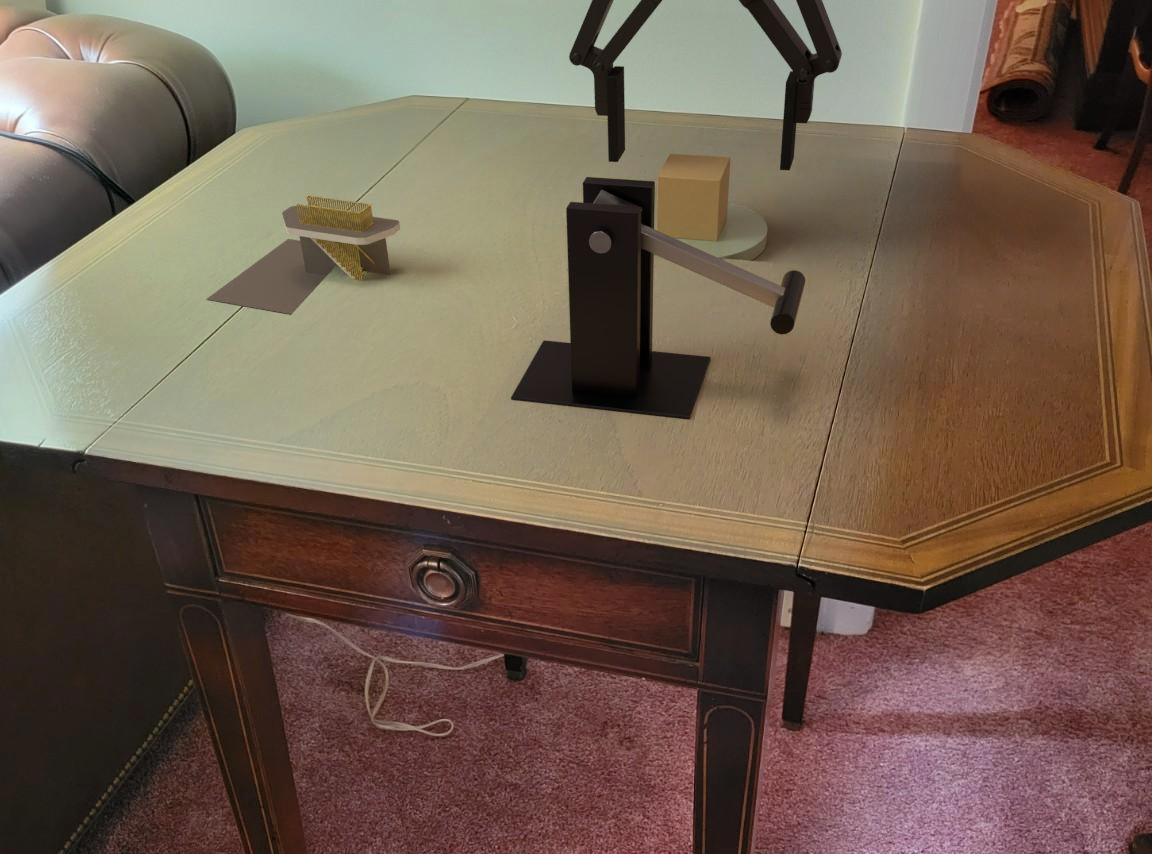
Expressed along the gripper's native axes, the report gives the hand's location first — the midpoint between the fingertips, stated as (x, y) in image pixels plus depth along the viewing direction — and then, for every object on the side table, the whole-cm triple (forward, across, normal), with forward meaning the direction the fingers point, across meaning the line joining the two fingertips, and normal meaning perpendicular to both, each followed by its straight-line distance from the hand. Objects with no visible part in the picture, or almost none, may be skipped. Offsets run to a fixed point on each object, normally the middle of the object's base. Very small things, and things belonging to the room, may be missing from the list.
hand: (700, 160), depth 96 cm
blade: (-2, -4, +25) cm, 25 cm away
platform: (+7, +26, +13) cm, 30 cm away
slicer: (+7, +1, +25) cm, 26 cm away
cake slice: (+6, +1, 0) cm, 6 cm away
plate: (+7, 0, 0) cm, 7 cm away
